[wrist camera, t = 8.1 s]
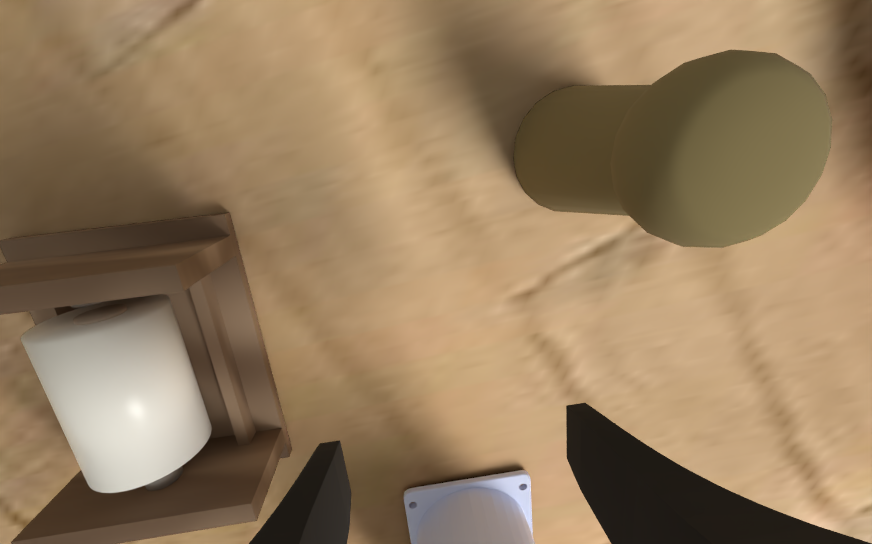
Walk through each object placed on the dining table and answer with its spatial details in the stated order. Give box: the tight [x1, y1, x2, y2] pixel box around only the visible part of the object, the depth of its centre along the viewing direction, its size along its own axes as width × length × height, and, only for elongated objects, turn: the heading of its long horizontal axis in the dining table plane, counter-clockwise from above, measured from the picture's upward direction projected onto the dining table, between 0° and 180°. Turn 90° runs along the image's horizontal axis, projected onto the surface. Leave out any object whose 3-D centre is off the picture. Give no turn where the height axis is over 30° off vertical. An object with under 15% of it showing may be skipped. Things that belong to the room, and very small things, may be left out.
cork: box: [513, 50, 832, 248], centre depth 15 cm, size 6×6×11 cm
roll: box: [21, 294, 212, 493], centre depth 18 cm, size 7×5×5 cm
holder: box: [0, 213, 292, 544], centre depth 18 cm, size 14×10×6 cm
